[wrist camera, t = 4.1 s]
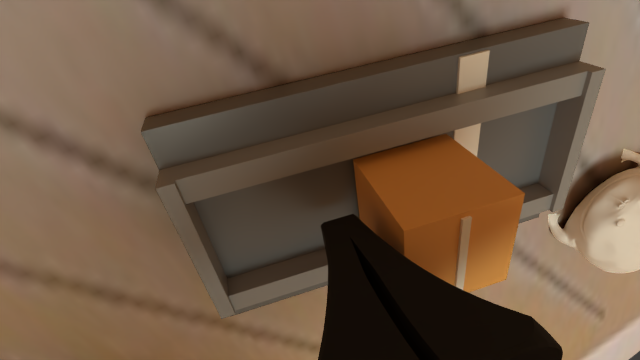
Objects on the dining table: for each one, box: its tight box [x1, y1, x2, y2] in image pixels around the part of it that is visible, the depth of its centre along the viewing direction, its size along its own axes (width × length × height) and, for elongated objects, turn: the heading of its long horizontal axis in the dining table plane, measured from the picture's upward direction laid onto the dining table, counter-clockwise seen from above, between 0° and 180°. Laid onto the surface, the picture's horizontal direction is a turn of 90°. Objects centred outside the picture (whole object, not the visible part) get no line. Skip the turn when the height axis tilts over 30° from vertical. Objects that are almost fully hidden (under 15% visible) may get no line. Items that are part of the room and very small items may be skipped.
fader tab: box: [353, 134, 525, 292], centre depth 14 cm, size 4×4×4 cm
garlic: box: [548, 148, 640, 273], centre depth 21 cm, size 8×7×4 cm
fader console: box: [141, 18, 606, 319], centre depth 16 cm, size 17×10×2 cm, turn 98°
